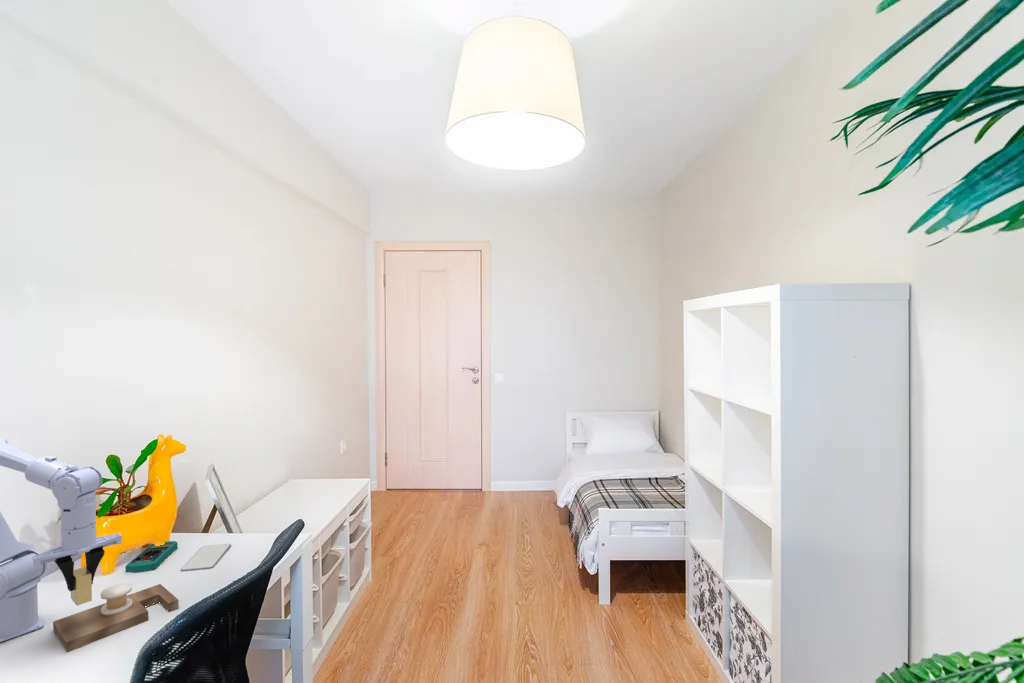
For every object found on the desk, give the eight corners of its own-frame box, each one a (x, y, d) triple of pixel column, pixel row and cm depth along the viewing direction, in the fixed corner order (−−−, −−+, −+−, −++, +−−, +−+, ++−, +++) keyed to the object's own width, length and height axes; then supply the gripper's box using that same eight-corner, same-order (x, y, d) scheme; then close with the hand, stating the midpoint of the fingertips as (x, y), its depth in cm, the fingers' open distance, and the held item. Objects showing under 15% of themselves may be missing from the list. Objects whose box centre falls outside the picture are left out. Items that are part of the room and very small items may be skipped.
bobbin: (105, 618, 108) (104, 598, 108) (97, 610, 112) (97, 590, 111) (135, 607, 113) (135, 588, 113) (127, 599, 116) (127, 580, 116)
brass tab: (76, 605, 104) (76, 578, 104) (70, 597, 107) (70, 571, 107) (91, 600, 106) (91, 573, 106) (85, 592, 109) (85, 566, 109)
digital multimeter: (123, 575, 132) (123, 564, 132) (151, 551, 147) (151, 541, 147) (154, 572, 134) (154, 562, 134) (178, 548, 148) (178, 539, 148)
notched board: (66, 652, 100) (66, 642, 100) (53, 630, 107) (53, 621, 107) (178, 607, 116) (178, 599, 116) (160, 591, 123) (160, 583, 123)
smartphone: (179, 570, 134) (202, 545, 148) (179, 573, 134) (202, 549, 148) (212, 567, 135) (232, 543, 150) (212, 570, 135) (232, 546, 150)
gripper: (37, 541, 98) (38, 607, 99) (125, 519, 110) (126, 578, 110) (29, 532, 103) (31, 596, 103) (116, 512, 114) (117, 569, 114)
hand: (80, 586), depth 107 cm, fingers closed on brass tab, 2 cm apart
